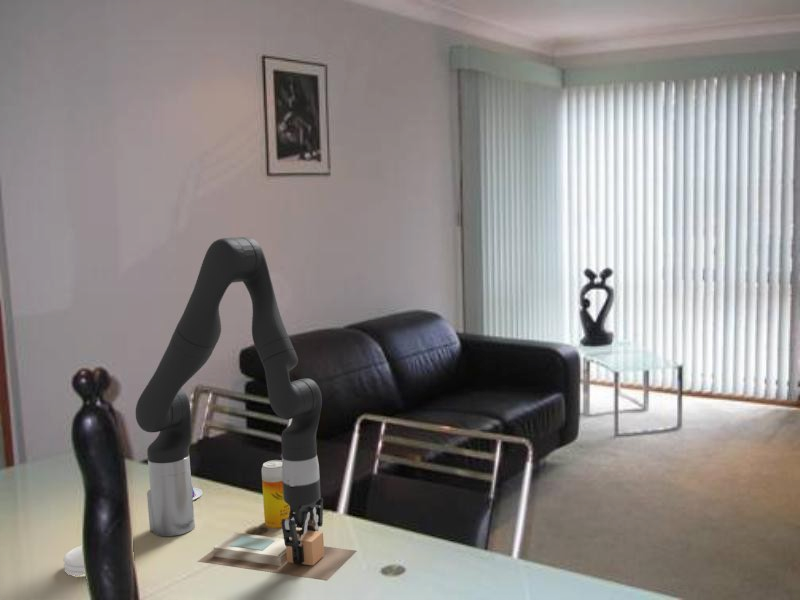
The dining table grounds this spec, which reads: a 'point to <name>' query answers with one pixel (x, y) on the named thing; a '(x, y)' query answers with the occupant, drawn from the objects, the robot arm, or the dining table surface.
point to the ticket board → (293, 568)
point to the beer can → (273, 494)
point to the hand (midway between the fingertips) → (305, 556)
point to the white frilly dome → (74, 562)
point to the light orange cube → (309, 547)
